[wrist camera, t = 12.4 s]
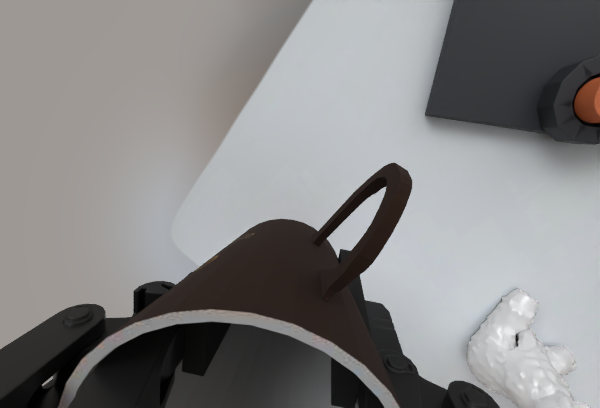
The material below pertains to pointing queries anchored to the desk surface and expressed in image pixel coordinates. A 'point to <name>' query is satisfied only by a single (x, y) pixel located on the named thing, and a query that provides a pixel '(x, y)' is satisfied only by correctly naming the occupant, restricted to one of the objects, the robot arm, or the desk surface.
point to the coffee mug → (275, 313)
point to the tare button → (588, 102)
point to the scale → (519, 65)
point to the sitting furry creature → (520, 357)
